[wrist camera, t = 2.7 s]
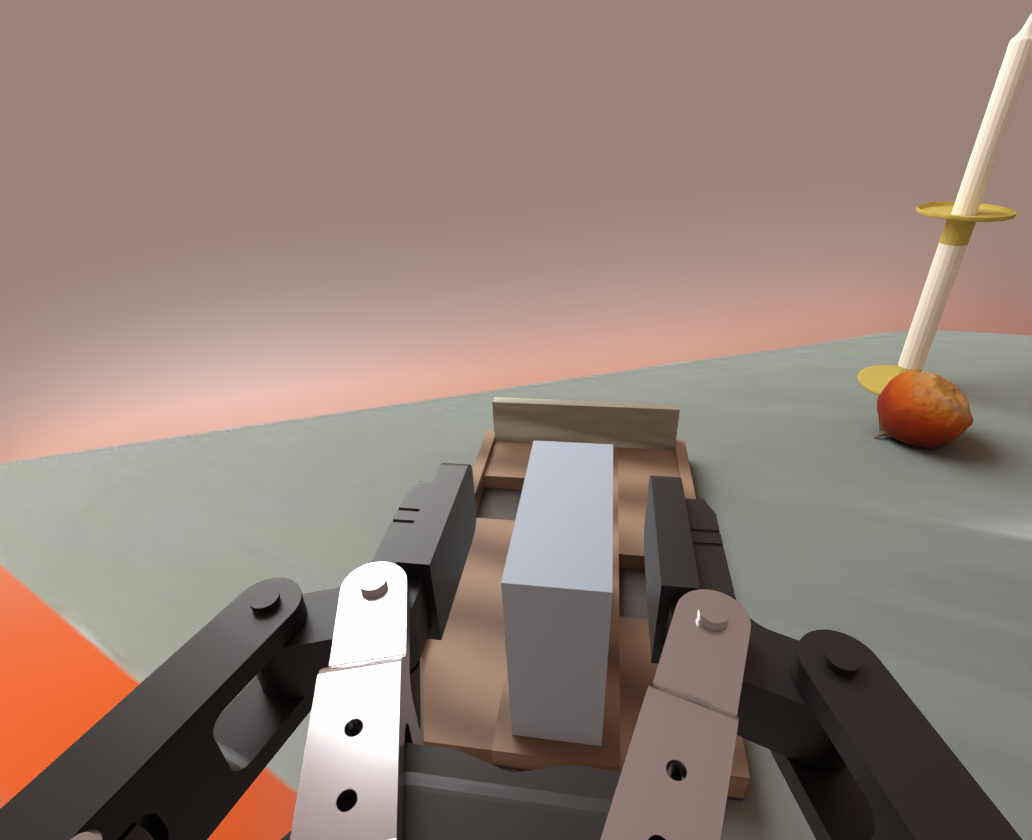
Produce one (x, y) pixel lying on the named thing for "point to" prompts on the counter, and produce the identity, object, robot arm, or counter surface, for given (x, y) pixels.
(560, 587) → the block
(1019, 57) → the candle
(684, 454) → the lane
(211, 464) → the counter surface
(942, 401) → the fruit
